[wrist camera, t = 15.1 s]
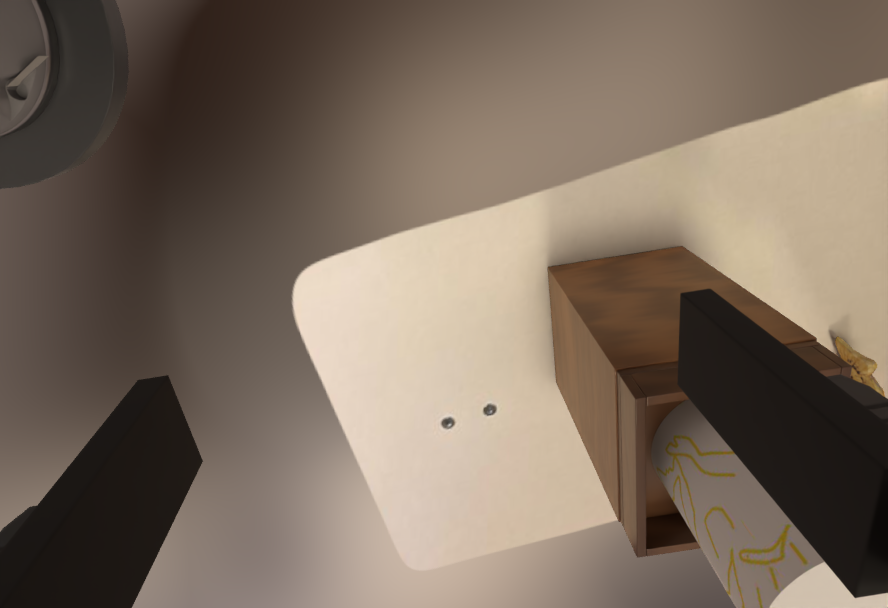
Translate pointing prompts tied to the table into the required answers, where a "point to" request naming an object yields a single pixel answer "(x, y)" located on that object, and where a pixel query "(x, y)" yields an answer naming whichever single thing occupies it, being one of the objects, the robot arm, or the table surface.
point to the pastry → (859, 365)
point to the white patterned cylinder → (742, 522)
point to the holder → (639, 416)
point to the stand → (630, 334)
